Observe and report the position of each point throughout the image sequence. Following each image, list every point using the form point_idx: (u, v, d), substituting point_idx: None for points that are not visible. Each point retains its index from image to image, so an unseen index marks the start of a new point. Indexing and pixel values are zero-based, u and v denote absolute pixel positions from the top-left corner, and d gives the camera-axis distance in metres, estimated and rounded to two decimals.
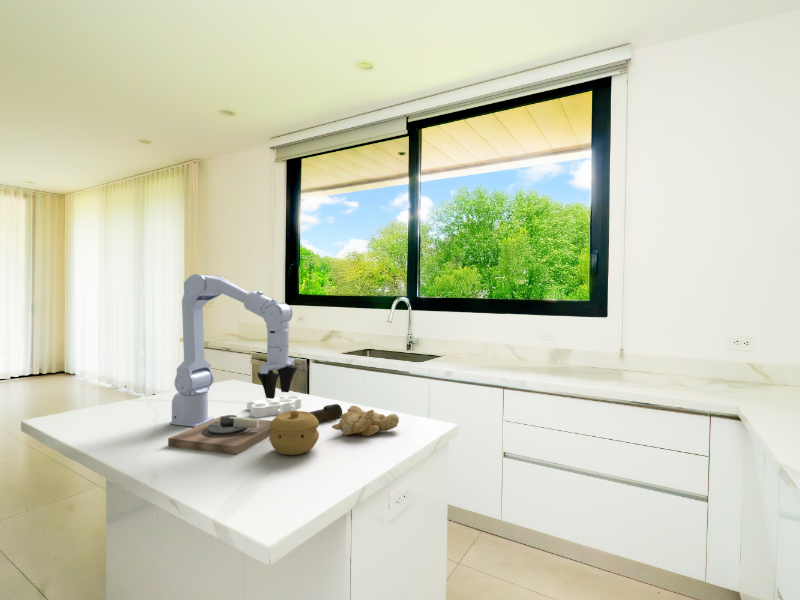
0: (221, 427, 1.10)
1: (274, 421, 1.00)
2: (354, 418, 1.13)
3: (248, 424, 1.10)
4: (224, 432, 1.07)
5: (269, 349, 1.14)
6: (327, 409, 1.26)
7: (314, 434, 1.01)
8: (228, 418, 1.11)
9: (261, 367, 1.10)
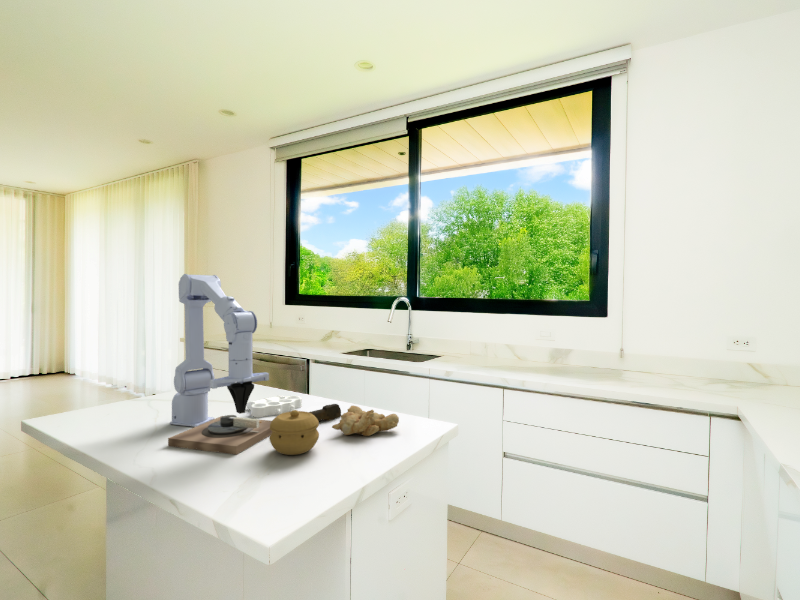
0: (221, 427, 1.10)
1: (274, 421, 1.00)
2: (354, 418, 1.13)
3: (248, 424, 1.10)
4: (224, 432, 1.07)
5: None
6: (326, 409, 1.27)
7: (314, 434, 1.01)
8: (228, 418, 1.11)
9: (210, 381, 1.02)
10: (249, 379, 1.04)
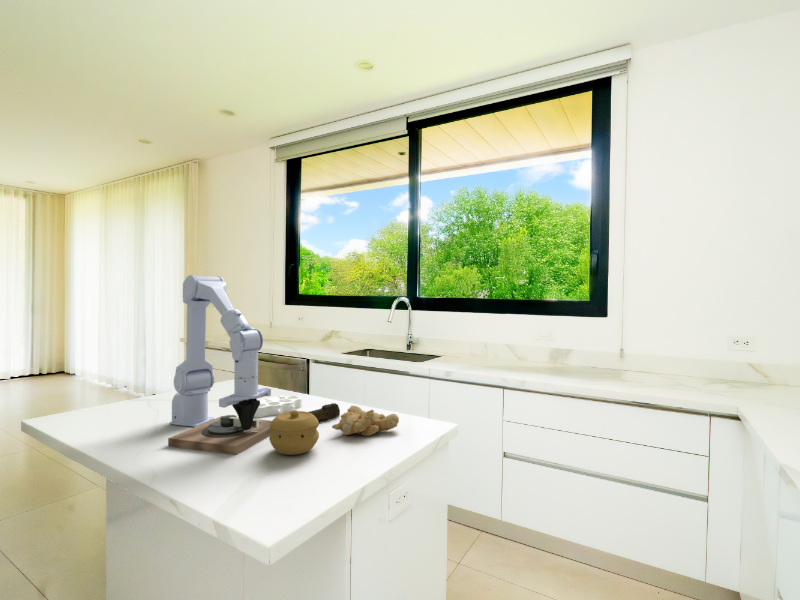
0: (221, 427, 1.10)
1: (274, 421, 1.00)
2: (354, 418, 1.13)
3: None
4: (224, 432, 1.07)
5: (235, 380, 1.06)
6: (326, 408, 1.27)
7: (314, 434, 1.01)
8: (228, 418, 1.11)
9: (220, 400, 1.02)
10: (258, 396, 1.06)
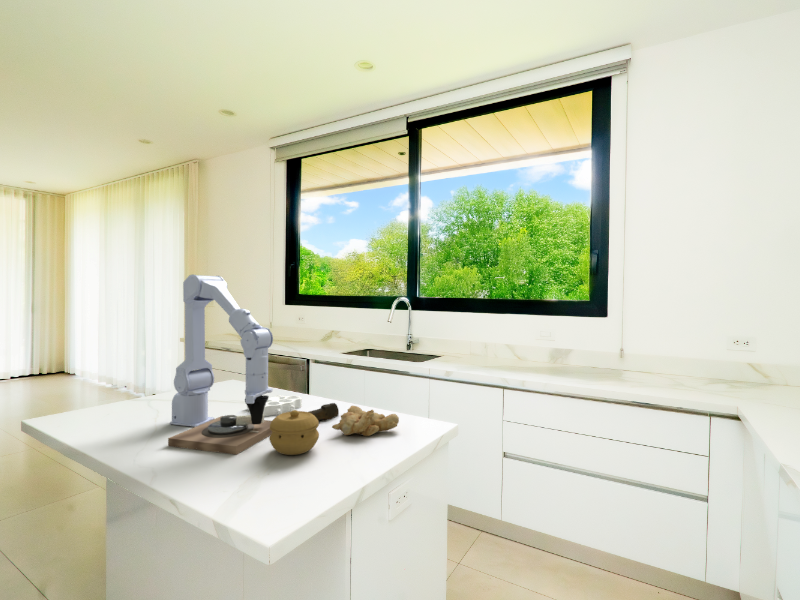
0: (226, 427, 1.09)
1: (274, 421, 1.00)
2: (354, 418, 1.13)
3: None
4: (235, 431, 1.08)
5: (250, 377, 1.10)
6: (325, 408, 1.27)
7: (314, 434, 1.01)
8: (230, 417, 1.11)
9: (247, 397, 1.05)
10: (272, 390, 1.13)
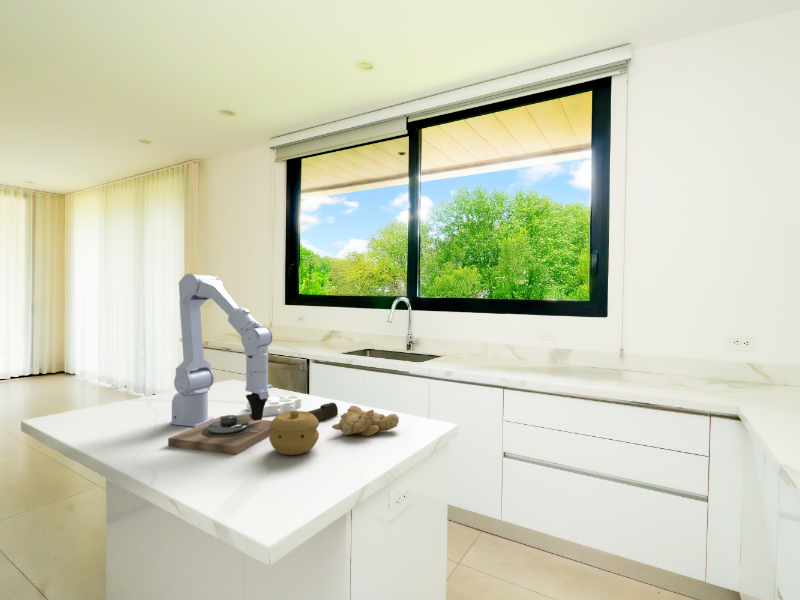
0: (231, 427, 1.10)
1: (274, 421, 1.00)
2: (354, 418, 1.13)
3: None
4: (243, 428, 1.10)
5: (256, 374, 1.13)
6: (325, 408, 1.27)
7: (314, 434, 1.01)
8: (231, 417, 1.12)
9: (262, 392, 1.10)
10: None
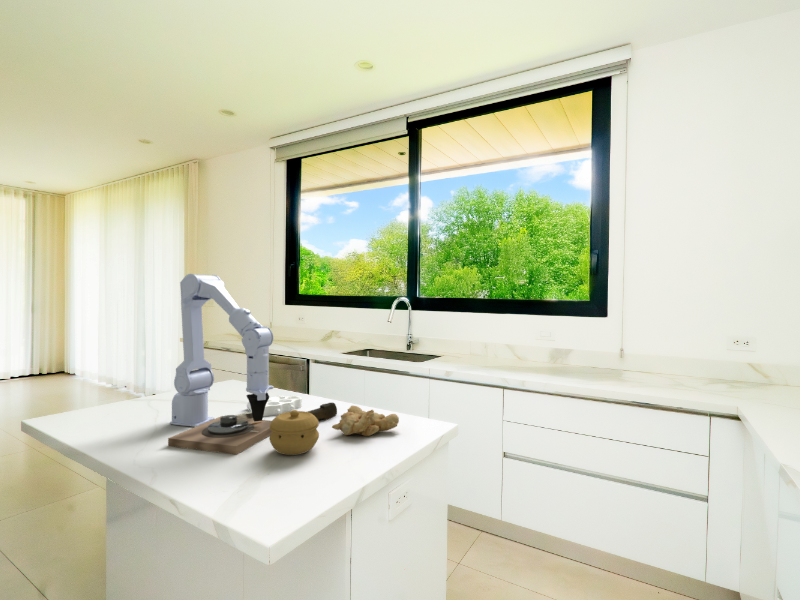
0: (232, 426, 1.10)
1: (274, 421, 1.00)
2: (354, 418, 1.13)
3: None
4: (244, 428, 1.11)
5: (255, 375, 1.12)
6: (324, 408, 1.28)
7: (314, 434, 1.01)
8: (231, 417, 1.12)
9: (260, 394, 1.08)
10: None
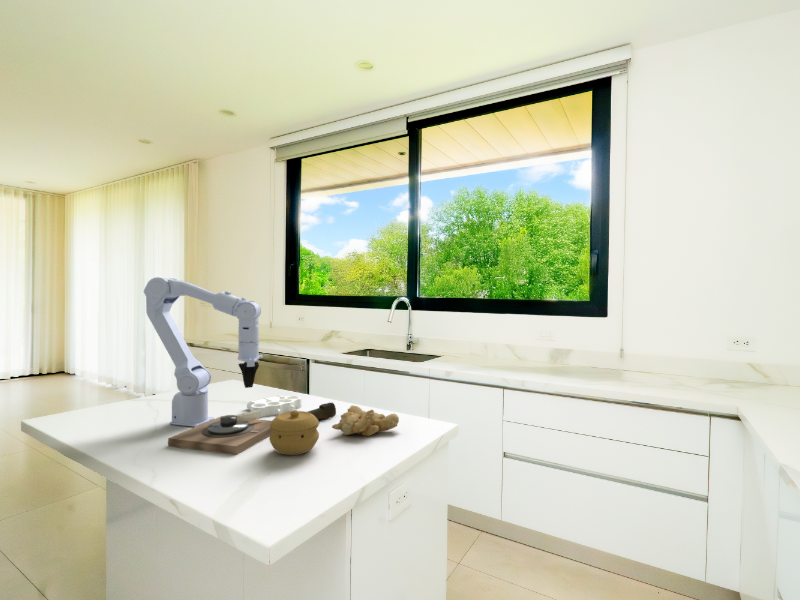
0: (232, 426, 1.10)
1: (274, 421, 1.00)
2: (354, 418, 1.13)
3: (253, 416, 1.16)
4: (244, 428, 1.11)
5: (245, 344, 1.22)
6: (324, 408, 1.28)
7: (314, 434, 1.01)
8: (231, 417, 1.12)
9: (249, 361, 1.18)
10: None
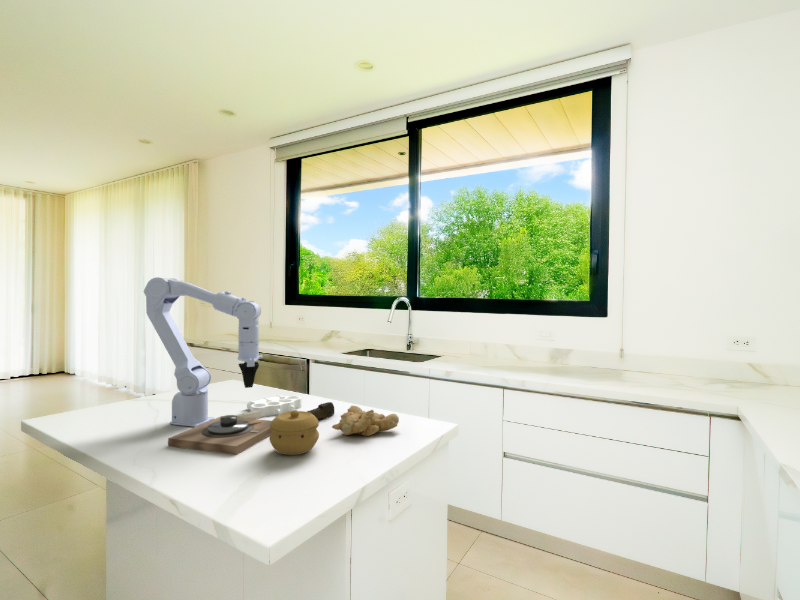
0: (232, 426, 1.10)
1: (274, 421, 1.00)
2: (354, 418, 1.13)
3: (253, 416, 1.16)
4: (244, 428, 1.11)
5: (245, 344, 1.22)
6: (323, 407, 1.28)
7: (314, 434, 1.01)
8: (231, 417, 1.12)
9: (249, 361, 1.18)
10: None
